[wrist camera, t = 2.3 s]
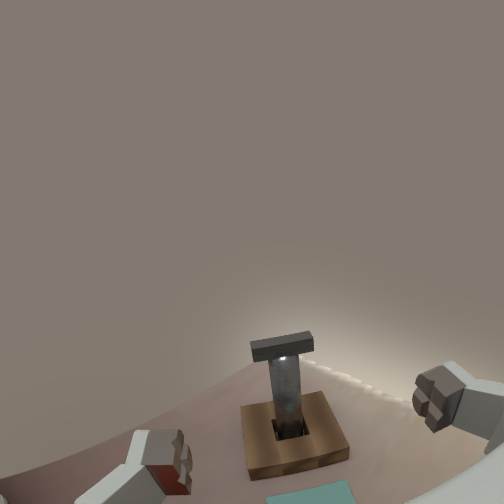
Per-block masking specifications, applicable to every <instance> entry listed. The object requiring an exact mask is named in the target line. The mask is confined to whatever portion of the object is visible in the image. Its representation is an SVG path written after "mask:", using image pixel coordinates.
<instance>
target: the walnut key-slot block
mask: <svg viewBox="0 0 504 504" xmlns="http://www.w3.org/2000/svg"><path fill="white" fill-rule="evenodd" d="M301 400H302V418H303V428H304V431H305V433H306V435H305V436H300V437H296V438H291V439H286V440H281V441H276V438H275V434H274V432H277V424H276V417H275V409H274V402H273V401H270V402H265V403H259V404H252V405H246V406H240V408H241V417H242V426H243V434H244V442H245V450H246V458H247V466H248V471H249V475H250V478H251V481H253V480H260V479H266V478H272V477H278V476H283V475H289V474H293V473H298V472H303V471H307V470H311V469H315V468H319V467H323V466H327V465H331V464H334V463H338V462H341V461H344V460H348V456H349V449H350V447H349V444H348V442H347V440H346V438H345V436H344V434H343V432H342V430H341V428H340V426H339V424H338V422H337V420H336V418H335V416H334V414H333V412H332V410H331V408H330V406H329V404H328V402H327V400H326V398H325V396H324V394H323V392H322V391H318V392H314V393H309V394H305V395H301Z"/></svg>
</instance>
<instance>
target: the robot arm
mask: <svg viewBox="0 0 504 504" xmlns="http://www.w3.org/2000/svg"><path fill="white" fill-rule="evenodd" d="M415 384H416V385H417V389H416V390H415V391H414V393H413V398H412V402H413V407H414V409H415V411H416V412H417V414H418V415H419V416H422V417H425V424H426V425H427V426H428V427H429V428H430V430H431V431H432V432H433V433H435V432H437V431H439V430H442V429H443V428H445V427H447V426H449V425H451V424H452V426H454V427H457V428H459V429H462V430H464V431H467V432H469V433H472V434H474V435H477V436H479V437H482V438H485V439H487V440H489V442H488V444H487V446H486V448H485V450H484V453H485V454H486V456H484V457H483V458H482V459H480V460H479V461H477V462H476V463H474V464H473V465H471V466H470V467H468V468H467V469H465V470H464V471H462V472H461V473H459V474H457V475H456V476H454V477H452V478H451V479H449V480H447V481H446V482H444V483H442V484H440V485H439V486H437V487H435V488H433V489H431V490H429V491H427V492H426V493H424V494H422V495H420V496H418V497H416V498H414V499H412V500H409V501H407V502H405V503H403V504H504V383H498V382H493V381H488V380H482V379H479V380H476V379H475V378H473V377H472V376H471V375H470V374H469V373H467V372H466V371H465V370H464V369H463V368H461V367H460V366H458V364H456V363H455V362H454V361H448V362H446V363H444V364H442V365H440V366H437V367H435V368H433V369H431V370H428V371H426V372H424V373H421V374H419V375H418V377H417V378H416V382H415ZM192 464H193V463H192V455H191V451H190V449H189V446H188V445H187V444H185V443H184V435H183V433H182V431H181V430H179V429H174V430H136V431H135V432H134V435H133V438H132V441H131V445H130V448H129V452H128V455H127V459H126V462H125V464H121V465H119V466H118V467H117V468H116V469H115V470H113V471H112V472H111V473H110V474H108V475H107V476H106V477H105V478H103V479H102V480H101V481H100V482H98V483H97V484H96V485H94V486H93V487H92V488H91V489H89V490H88V491H87V492H85V493H84V494H83V495H81V496H80V497H79V498H77V499H76V500H75V503H74V504H161V503H162V501H163V500H164V499H165V498H166V495H191V485H192V479H191V477H190V475H189V473H190V472H191V470H192ZM0 504H8V502H7V500H6V498H4V497H3V496H2V495H0Z"/></svg>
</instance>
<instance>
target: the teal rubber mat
mask: <svg viewBox="0 0 504 504" xmlns="http://www.w3.org/2000/svg"><path fill="white" fill-rule="evenodd" d="M266 501H267V504H356V502H355V499H354V497H353V495H352V493H351V490H350V488H349V486H348V483H347V481H346V479H344V480H341V481H338V482H334V483H330V484H327V485H323V486H319V487H315V488H311V489H307V490H303V491H298V492H293V493H288V494H283V495H277V496H272V497H266Z"/></svg>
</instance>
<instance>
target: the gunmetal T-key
mask: <svg viewBox="0 0 504 504" xmlns="http://www.w3.org/2000/svg"><path fill="white" fill-rule="evenodd" d="M250 345H251V351H252V357H253V362H260V361H266V360H268V364H269V371H270V379H271V386H272V394H273V402H274V409H275V417H276V424H277V432H278V439H279V441H281V440H286V439H291V438H296V437H300V436H303V418H302V400H301V384H300V369H299V355H298V354H302V353H306V352H311V351H314V340H313V336H312V335H311V333H310V331H305V332H301V333H295V334H290V335H285V336H279V337H274V338H268V339H262V340H257V341H251V342H250Z"/></svg>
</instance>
